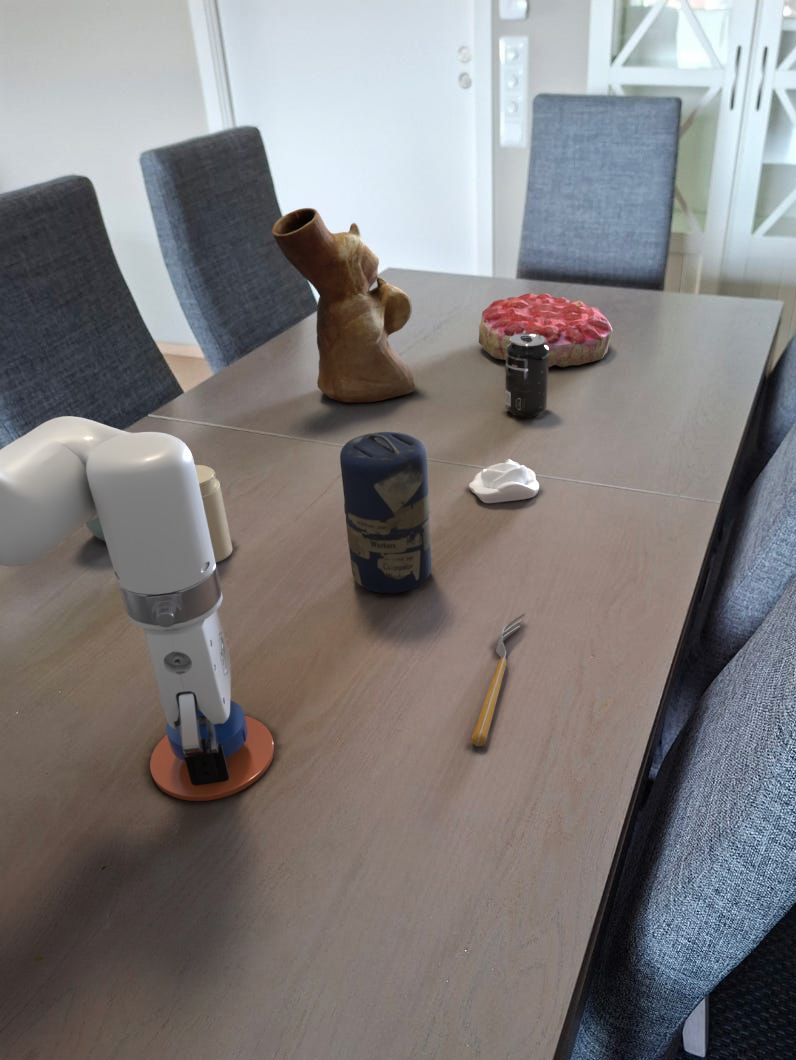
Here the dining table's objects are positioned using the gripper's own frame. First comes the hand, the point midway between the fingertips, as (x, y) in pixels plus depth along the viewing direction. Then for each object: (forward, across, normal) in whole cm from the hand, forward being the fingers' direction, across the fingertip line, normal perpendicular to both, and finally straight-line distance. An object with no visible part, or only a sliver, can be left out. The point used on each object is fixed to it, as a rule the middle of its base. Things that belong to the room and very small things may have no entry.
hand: (212, 751), depth 82 cm
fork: (+1, +5, -28) cm, 28 cm away
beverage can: (+1, +73, -48) cm, 87 cm away
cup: (+1, +45, +13) cm, 47 cm away
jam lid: (-3, 0, 0) cm, 3 cm away
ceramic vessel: (+1, +87, -21) cm, 90 cm away
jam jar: (+1, +38, +2) cm, 38 cm away
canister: (+1, +27, -20) cm, 34 cm away
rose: (+1, +46, -38) cm, 60 cm away
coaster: (+1, 0, 0) cm, 1 cm away
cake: (+1, +103, -59) cm, 119 cm away
